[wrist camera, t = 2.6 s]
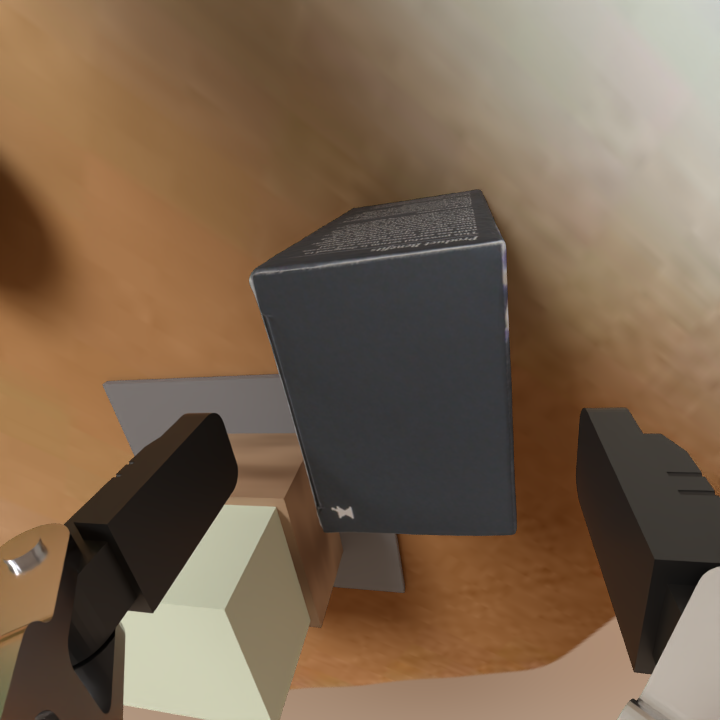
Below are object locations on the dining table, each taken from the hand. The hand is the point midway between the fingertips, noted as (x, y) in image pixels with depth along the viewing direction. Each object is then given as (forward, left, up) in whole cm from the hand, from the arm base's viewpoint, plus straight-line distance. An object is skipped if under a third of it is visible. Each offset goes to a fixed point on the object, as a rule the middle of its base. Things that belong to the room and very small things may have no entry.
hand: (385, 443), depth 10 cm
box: (0, 0, -12) cm, 12 cm away
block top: (+12, -11, -6) cm, 17 cm away
